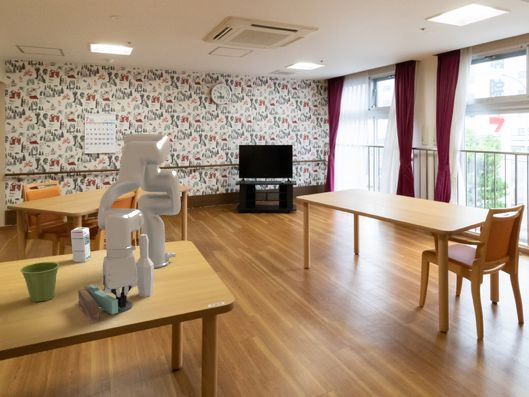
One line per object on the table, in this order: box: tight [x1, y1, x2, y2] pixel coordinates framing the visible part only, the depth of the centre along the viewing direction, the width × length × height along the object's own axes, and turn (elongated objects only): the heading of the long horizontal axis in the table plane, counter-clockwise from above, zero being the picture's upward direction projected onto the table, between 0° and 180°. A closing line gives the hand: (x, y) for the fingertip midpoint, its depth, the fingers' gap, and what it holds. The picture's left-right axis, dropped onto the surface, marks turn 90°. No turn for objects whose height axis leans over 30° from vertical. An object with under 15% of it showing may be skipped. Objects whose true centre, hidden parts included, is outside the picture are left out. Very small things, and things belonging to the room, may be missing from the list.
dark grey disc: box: [103, 300, 133, 314], centre depth 136 cm, size 9×9×1 cm
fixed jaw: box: [77, 284, 100, 324], centre depth 132 cm, size 5×18×6 cm, turn 38°
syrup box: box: [70, 226, 92, 263], centre depth 183 cm, size 6×6×14 cm
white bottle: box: [136, 233, 155, 298], centre depth 145 cm, size 6×6×22 cm
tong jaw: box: [90, 284, 119, 315], centre depth 132 cm, size 2×14×6 cm, turn 50°
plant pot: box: [20, 261, 60, 303], centre depth 141 cm, size 12×12×11 cm
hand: (121, 306), depth 133 cm, fingers closed
